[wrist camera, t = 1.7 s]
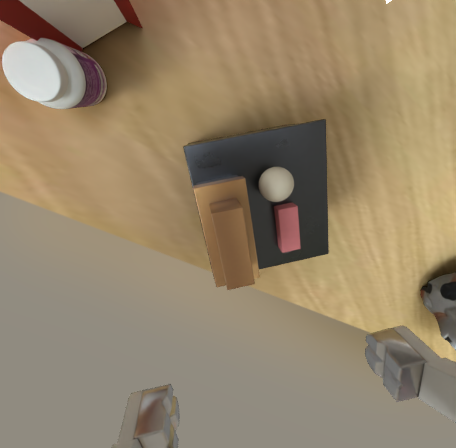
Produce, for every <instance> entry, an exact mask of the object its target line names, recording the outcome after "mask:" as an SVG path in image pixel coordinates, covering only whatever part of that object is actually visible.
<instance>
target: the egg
mask: <svg viewBox="0 0 456 448" xmlns="http://www.w3.org/2000/svg"><path fill="white" fill-rule="evenodd" d="M293 188H294V180H293V177H292V175H291V173H290V172H289V171H288V170H286V169H285V168H282V167H272V168H269V169H267V170H266V171H265V172H264V173H263V174H262V175H261V177H260V179H259V190H260V193H261V194H262V196H263V197H264V198H265V199H267V200H269V201H272V202H279V201H283V200H285V199H286V198H288V197H289V196H290V194H291V193H292V191H293Z"/></svg>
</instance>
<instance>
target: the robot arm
mask: <svg viewBox="0 0 456 448" xmlns="http://www.w3.org/2000/svg"><path fill="white" fill-rule="evenodd" d="M390 1H391V0H386V3H388V2H390ZM366 342H367V343H368V344H369V345H368V346H367V347H366V349H365V355H366V359H367V362H368V364H369V365H370V367H371V369H372V370H373V371H374V373H375V374H376V375H378V376H380V377H382V378H383V385H384V386H385V387H386V389H387V390H388V391H389V392H390V394H391V395H392V397H393V398H394V399H395V400H396V402H399V401H403V400H407V399H412V398H415V397H419V399H420V400H422V401H423V402H425V403H426V404H428V405H429V406H431V407H432V408H434V409H435V410H437V411H438V412H440V413H441V414H443V415H444V416H446V417H447V418H449V419H450V420H452V421H453V422H455V423H456V362H454V361H451V360H449V359H447V358H442V359H441V358H440V357H439V356H438V355H437V354H436V353H435V352H434V351H433V350H431V349H430V348H429V347H428V346H427V345H426V344H425V343H424V342H423V341H422V340H420V339H419V338H418V337H417V336H416V335H415V334H414V333H413V332H412V331H410V330H409V329H408V328H407V327H405V326H403V325H402V326H397V327H394V328H388V329H385V330H381V331H377V332H373V333H370V334H367V336H366ZM178 426H179V405H178V401H177V398H176V397H175V396H173V388H172V386H171V384H169V385H164V386H159V387H155V388H150V389H146V390H142V391H137V392H134V393H131V394H130V396H129V398H128V402H127V406H126V410H125V414H124V419H123V422H122V426H121V431H120V434H119V438H118V442H117V444H114V445H113V446H112V447H111V448H178V437H177V434H176V430H177V428H178Z"/></svg>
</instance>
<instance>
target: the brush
mask: <svg viewBox="0 0 456 448" xmlns="http://www.w3.org/2000/svg"><path fill="white" fill-rule="evenodd" d="M194 194H195V198H196V202H197V206H198V211H199V215H200V219H201V223H202V228H203V232H204V236H205V241H206V245H207V249H208V253H209V258H210V262H211V266H212V271H213V275H214V279H215V283H216V287H220V286H225V285H226V286H227V290H230V289H235V288H239V287H243V286H248V285H252V284H255V282H254V279H255V278H260V274H259V267H258V260H257V254H256V247H255V240H254V234H253V227H252V220H251V213H250V207H249V200H248V193H247V186H246V180H245V178H244V177H243V176H238V175H233V176H228V177H223V178H218V179H213V180H208V181H203V182H198V183H196V185H195V186H194Z"/></svg>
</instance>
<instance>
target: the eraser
mask: <svg viewBox="0 0 456 448" xmlns="http://www.w3.org/2000/svg"><path fill="white" fill-rule="evenodd" d="M274 212H275V222H276V231H277V240H278V247H279V249H280V250H281V251H282V253H284V252H288V251H293V250H297V249H301V248H300V233H299V219H298V206H297V205H295V204H294V203H293V202H291V203H287V204H282V205H277V206H274Z"/></svg>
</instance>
